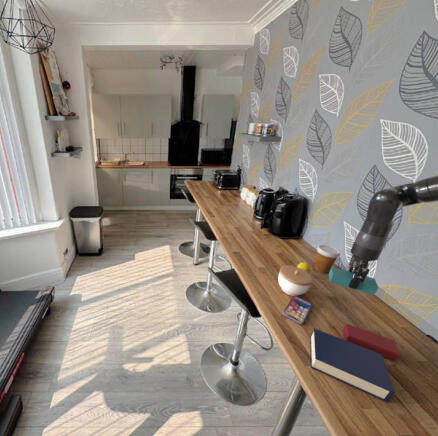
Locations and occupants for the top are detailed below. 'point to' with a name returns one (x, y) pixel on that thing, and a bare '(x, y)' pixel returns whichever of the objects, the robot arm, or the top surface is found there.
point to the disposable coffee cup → (325, 258)
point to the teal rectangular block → (345, 277)
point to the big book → (351, 364)
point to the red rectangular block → (371, 341)
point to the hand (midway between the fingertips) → (350, 282)
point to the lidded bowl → (294, 280)
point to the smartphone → (297, 309)
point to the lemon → (304, 266)
